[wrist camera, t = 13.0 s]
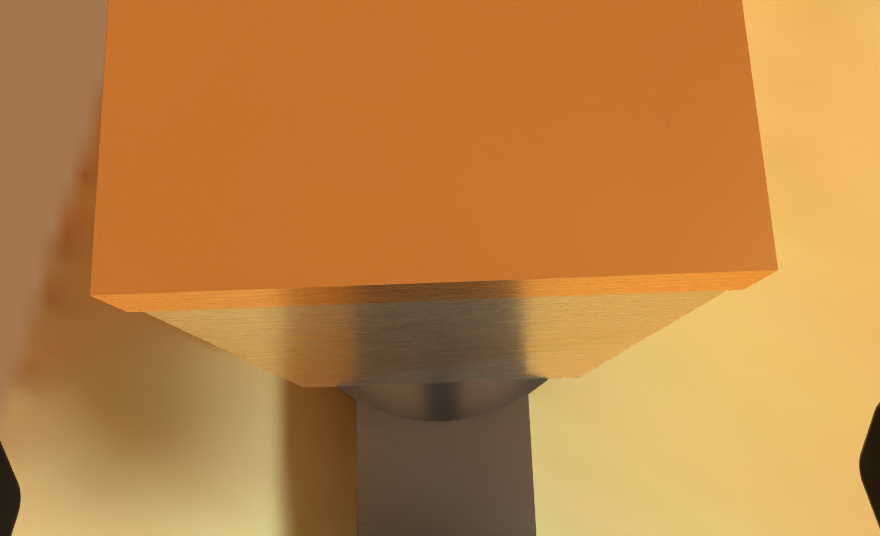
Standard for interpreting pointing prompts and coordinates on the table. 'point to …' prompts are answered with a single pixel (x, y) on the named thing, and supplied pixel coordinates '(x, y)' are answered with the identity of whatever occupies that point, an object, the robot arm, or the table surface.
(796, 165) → the table surface
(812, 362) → the table surface
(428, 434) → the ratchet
